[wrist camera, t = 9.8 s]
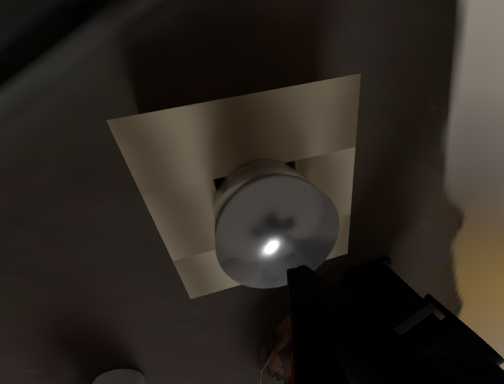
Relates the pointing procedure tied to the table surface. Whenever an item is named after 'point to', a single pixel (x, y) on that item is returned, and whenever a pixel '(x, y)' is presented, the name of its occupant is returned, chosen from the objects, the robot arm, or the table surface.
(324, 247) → the pin
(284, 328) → the stew
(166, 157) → the hitch block
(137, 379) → the mug
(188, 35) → the table surface
